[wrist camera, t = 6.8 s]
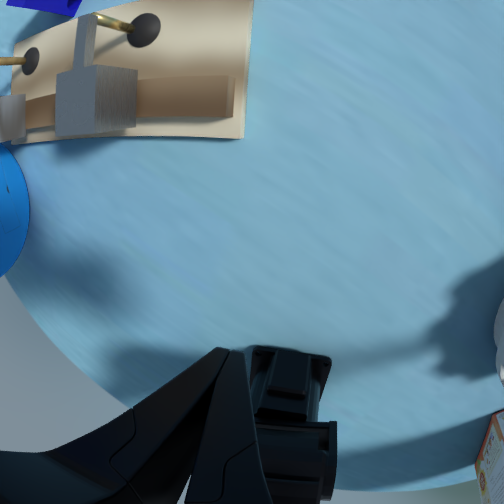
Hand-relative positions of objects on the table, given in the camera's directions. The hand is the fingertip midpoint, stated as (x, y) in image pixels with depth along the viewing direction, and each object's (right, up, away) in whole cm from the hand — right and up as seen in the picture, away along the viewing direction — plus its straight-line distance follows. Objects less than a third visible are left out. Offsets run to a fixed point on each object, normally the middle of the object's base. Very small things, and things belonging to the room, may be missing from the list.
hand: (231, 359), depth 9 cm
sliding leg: (-7, +14, +8) cm, 18 cm away
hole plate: (-10, +16, +10) cm, 22 cm away
